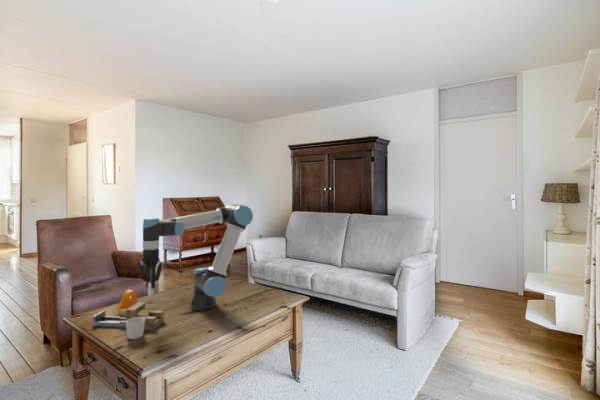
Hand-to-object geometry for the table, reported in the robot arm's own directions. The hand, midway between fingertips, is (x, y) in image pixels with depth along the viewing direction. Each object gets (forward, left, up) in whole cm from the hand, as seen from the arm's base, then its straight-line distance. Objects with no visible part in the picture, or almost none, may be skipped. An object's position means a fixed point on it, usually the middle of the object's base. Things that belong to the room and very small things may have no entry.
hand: (150, 294), depth 165 cm
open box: (+2, 0, -16) cm, 16 cm away
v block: (+18, 0, -16) cm, 24 cm away
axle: (+8, 0, -13) cm, 15 cm away
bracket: (+19, -17, -16) cm, 30 cm away
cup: (0, +13, -16) cm, 20 cm away
